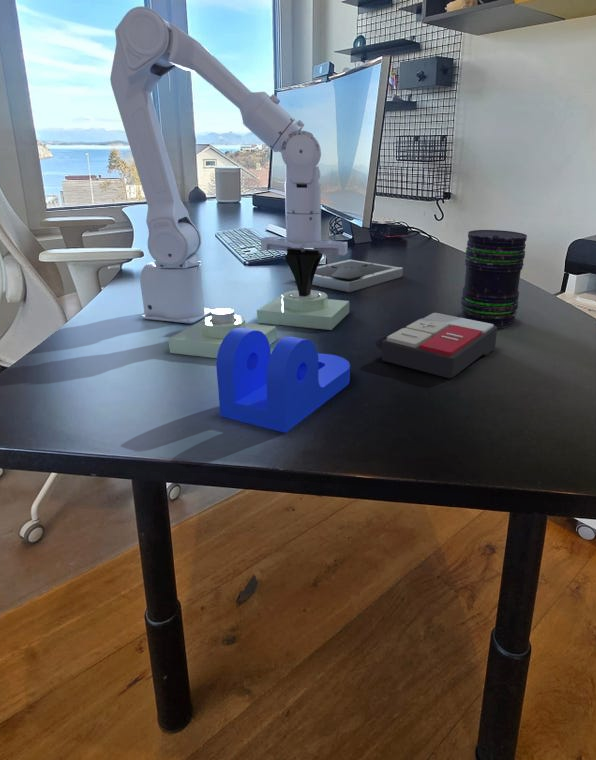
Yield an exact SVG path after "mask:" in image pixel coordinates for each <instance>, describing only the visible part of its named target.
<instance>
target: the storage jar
mask: <svg viewBox="0 0 596 760" xmlns="http://www.w3.org/2000/svg"><path fill="white" fill-rule="evenodd" d="M467 238H468V240H467V242H466V248H465V260H464V262H465V263H464V265H465V277H464V286H463V287H462V293H461V299H460V310H461V313H460V316H459V317H460V318H465V319H470V320H475V321H480V322H485V323H490V324H493V325H494V326H497V329H502V328H503V329H505V328H509V327H512V326H514V325H515V324H516V315H517V310H518V308H519V297H520V291H519V288H520V287H519V286H520V280H521V272H522V270H523V267H524V259H525V257H526V251H525V250H526V242H527V238H528V235H527V234H526V233H522V232H517V231H509V230H500V229H475V230H474V229H473V230H470V231H469V230H468V232H467Z"/></svg>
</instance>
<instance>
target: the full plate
mask: <svg viewBox="0 0 596 760" xmlns="http://www.w3.org/2000/svg"><path fill="white" fill-rule="evenodd" d="M294 292H298V289H296V290H295V289H294V290H289V291H285V292H284V293H282V294H280V295H279V296H277V297H276V298H275V299H273V300H271V301H270V302H268V303H266V304H265V305H263V306H261V307H260V308H258V309H256V320H257V321H256V322H257V323H258V324H267V325H277V326H287V327H298V328H306V329H307V328H308V329H317V330H326V331H327V330H328V331H332V330H333V329H334V328H335V327H336V326H337V325H338V324H339V323H340V322H341V321H343V319H344V318H345V317H346V316H348V315H349V314H350V301H349V300H341V299H332V298H331V299H329V295H328V294H327V293H326V292H324V291H319V290H314V289H313V290H312V289H311V292H315V293H317V294H318V295H319V297H318V298H313V299H295V298H292V297H291V294H292V293H294Z"/></svg>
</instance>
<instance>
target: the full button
mask: <svg viewBox="0 0 596 760" xmlns="http://www.w3.org/2000/svg"><path fill="white" fill-rule="evenodd" d="M291 297H292V298H295V299H313V298H318V297H319V295H318V294H317V293H315V292H311V293H310V294H309V295H308V296H299V292H294V293H292V294H291Z"/></svg>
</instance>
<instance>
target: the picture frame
mask: <svg viewBox="0 0 596 760" xmlns="http://www.w3.org/2000/svg"><path fill="white" fill-rule="evenodd" d="M403 273H404V267H401V266H400V267H399V266H393V265H387V264H380V263H373V262H367V261H362V260H355V259H346V260H341V261H335V262H331V263H327V264H323V265H318V267H317V269H316V272H315V275H314V278H313V282H312V286H316V287H321V288H326V289H330V290H336V291H341V292H345V293H352V292H355V291H359V290H362V289H365V288H369V287H372V286H376V285H379V284H383V283H386V282H389V281H393V280H396V279H401V278H403ZM292 281H293V282H295V283H296V281H295V278H294V276H293V275H292Z"/></svg>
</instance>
